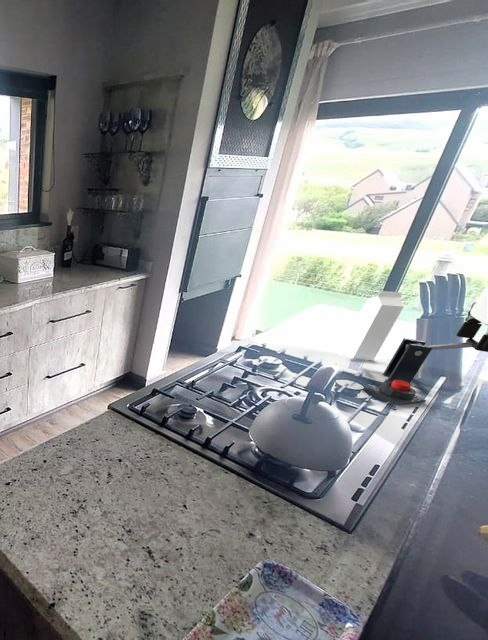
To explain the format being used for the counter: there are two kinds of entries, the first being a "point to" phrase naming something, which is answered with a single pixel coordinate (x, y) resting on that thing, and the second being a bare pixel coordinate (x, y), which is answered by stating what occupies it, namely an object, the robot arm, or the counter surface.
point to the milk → (373, 325)
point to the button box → (396, 394)
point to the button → (401, 385)
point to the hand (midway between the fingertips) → (473, 343)
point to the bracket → (407, 360)
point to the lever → (452, 345)
